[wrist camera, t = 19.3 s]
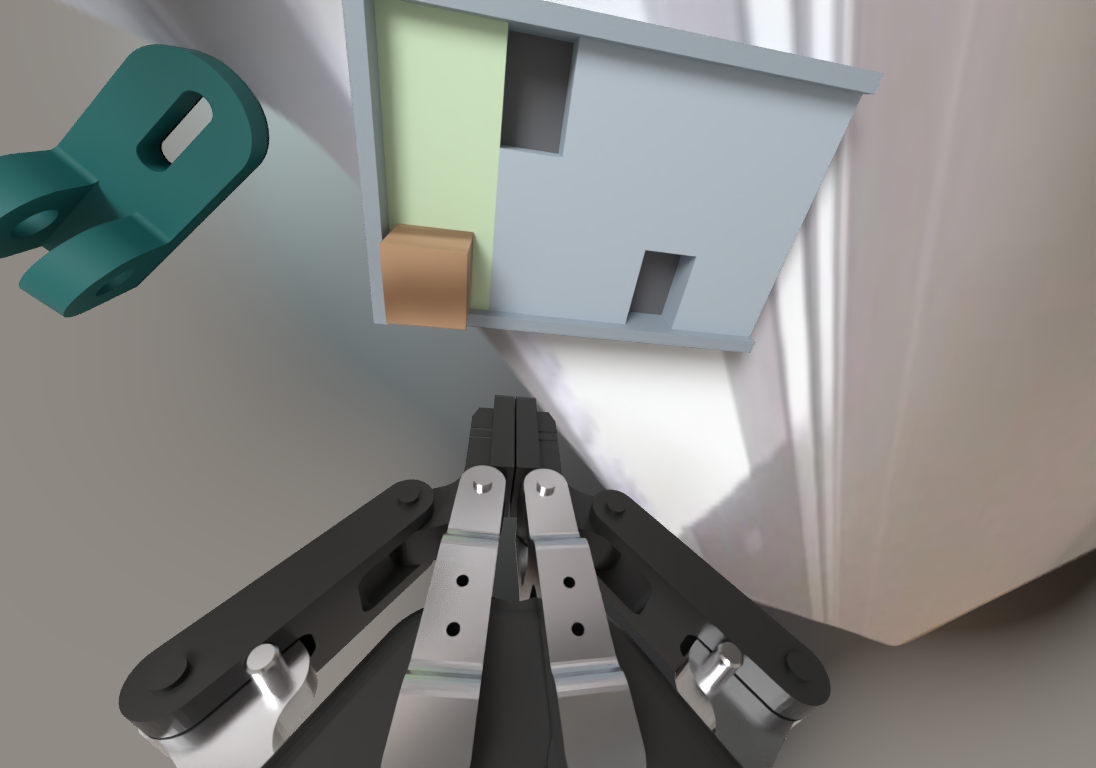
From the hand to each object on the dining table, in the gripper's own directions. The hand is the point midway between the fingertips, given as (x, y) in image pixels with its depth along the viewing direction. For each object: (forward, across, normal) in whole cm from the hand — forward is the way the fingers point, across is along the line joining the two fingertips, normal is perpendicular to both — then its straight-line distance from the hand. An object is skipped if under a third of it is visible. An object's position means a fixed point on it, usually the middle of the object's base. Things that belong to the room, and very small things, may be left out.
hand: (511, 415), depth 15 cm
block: (+18, +5, +1) cm, 18 cm away
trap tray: (+21, -6, -4) cm, 22 cm away
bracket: (+21, +24, -2) cm, 32 cm away
